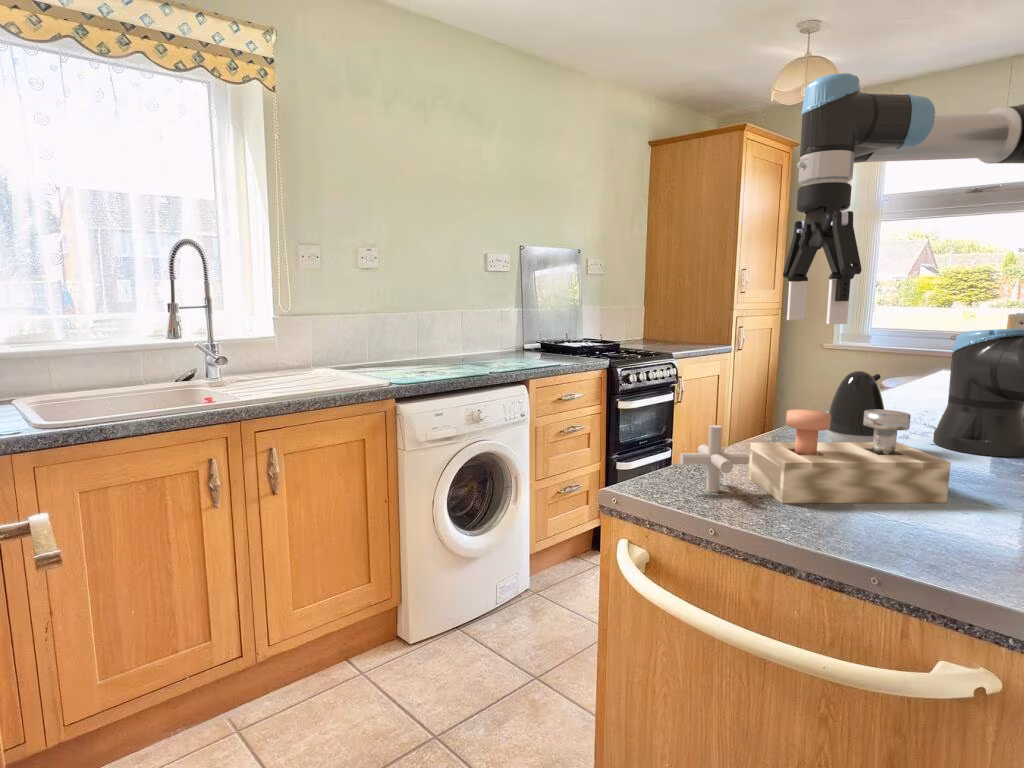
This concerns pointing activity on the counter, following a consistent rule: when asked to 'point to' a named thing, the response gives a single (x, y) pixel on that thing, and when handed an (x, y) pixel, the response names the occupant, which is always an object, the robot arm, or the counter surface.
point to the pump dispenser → (854, 407)
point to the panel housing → (848, 474)
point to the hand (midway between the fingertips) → (814, 322)
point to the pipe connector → (714, 458)
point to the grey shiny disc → (885, 428)
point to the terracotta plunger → (807, 428)
